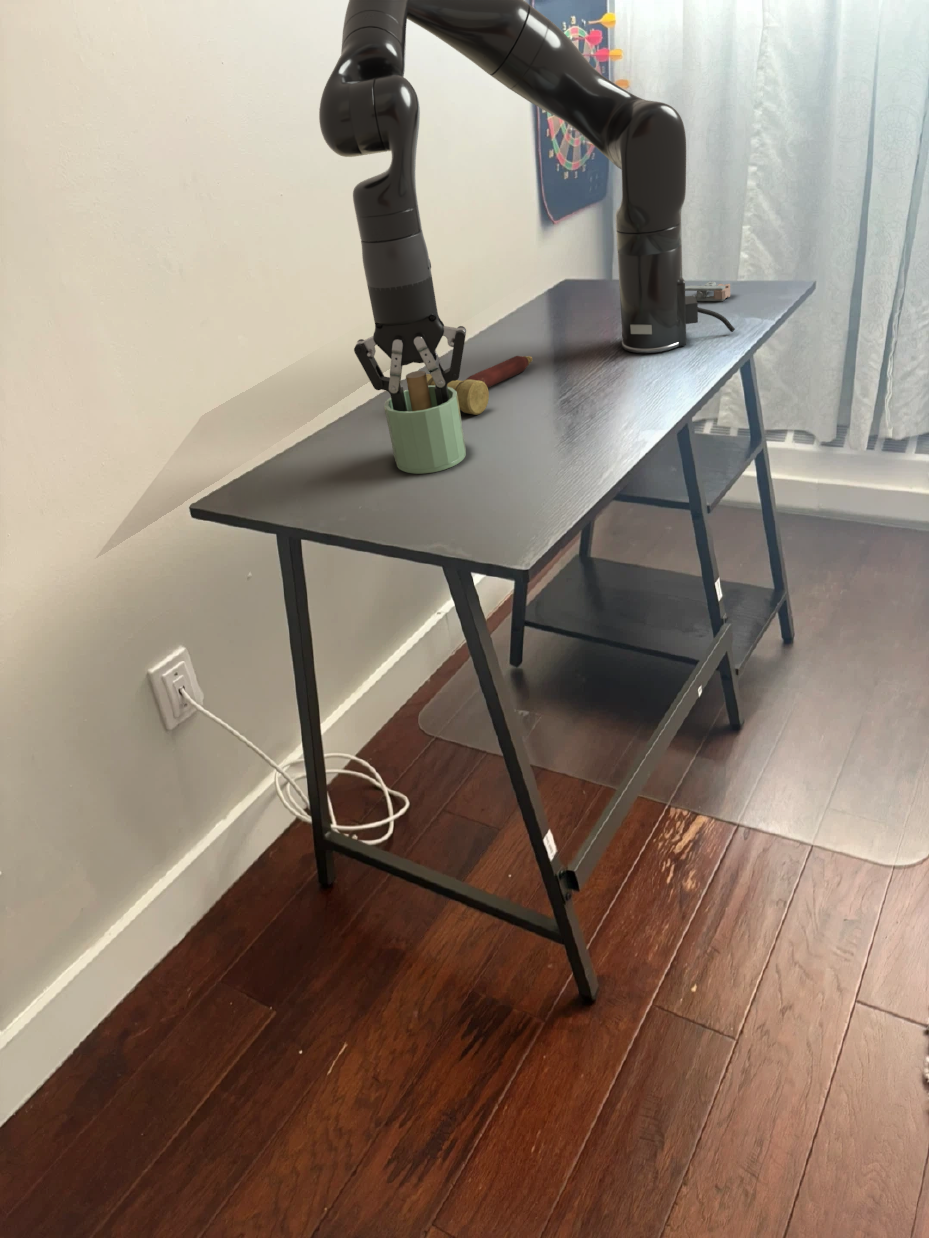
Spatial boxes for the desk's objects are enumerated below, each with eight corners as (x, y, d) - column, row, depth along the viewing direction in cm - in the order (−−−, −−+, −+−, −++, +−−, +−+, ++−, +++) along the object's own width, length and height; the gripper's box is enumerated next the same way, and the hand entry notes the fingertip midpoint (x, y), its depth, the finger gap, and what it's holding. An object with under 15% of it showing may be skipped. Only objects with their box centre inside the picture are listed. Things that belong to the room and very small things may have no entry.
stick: (440, 449, 123) (426, 369, 117) (439, 457, 121) (425, 376, 115) (421, 451, 123) (406, 372, 118) (419, 459, 121) (404, 379, 116)
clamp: (736, 278, 163) (716, 295, 156) (736, 291, 164) (716, 309, 157) (652, 278, 170) (630, 295, 164) (652, 291, 172) (630, 308, 165)
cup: (467, 440, 126) (458, 381, 121) (464, 469, 118) (454, 407, 114) (400, 448, 127) (388, 390, 123) (392, 477, 119) (380, 416, 115)
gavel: (504, 341, 148) (557, 346, 142) (506, 370, 151) (558, 376, 145) (412, 379, 135) (466, 386, 129) (417, 410, 137) (470, 419, 132)
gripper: (333, 293, 108) (363, 435, 117) (458, 275, 106) (479, 421, 115) (343, 276, 114) (371, 412, 123) (461, 259, 113) (481, 399, 122)
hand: (423, 415), depth 119 cm, fingers closed on cup, 4 cm apart
